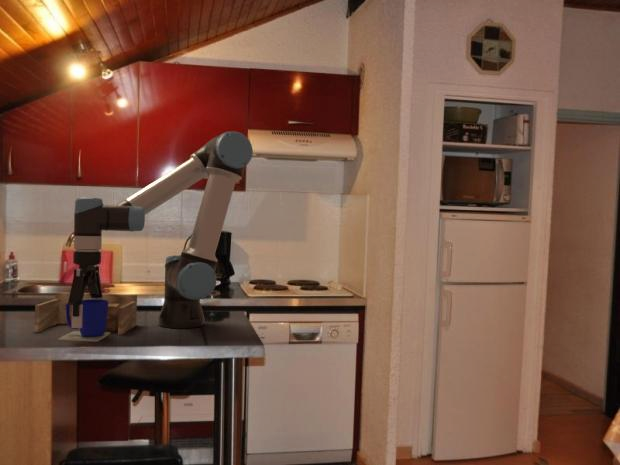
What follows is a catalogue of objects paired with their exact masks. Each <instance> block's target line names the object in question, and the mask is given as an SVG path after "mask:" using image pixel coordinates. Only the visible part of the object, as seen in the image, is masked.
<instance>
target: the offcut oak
mask: <svg viewBox="0 0 620 465" xmlns="http://www.w3.org/2000/svg"><path fill="white" fill-rule="evenodd" d="M118 314H119V304H108V311H107V320H116V319H117V318H118Z"/></svg>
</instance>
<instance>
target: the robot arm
mask: <svg viewBox="0 0 620 465" xmlns="http://www.w3.org/2000/svg"><path fill="white" fill-rule="evenodd" d="M252 145H253V144H252V143H251V141H250V139H249V138H248V137H247V136H246V135H245V134H244V133H242V132H239V131H225V132H223V133H221V134H220V135H217V136H215V137H213V138H211V139H210V140H209V141H207V142H206V143H205V144H204V145H203V146H201V147H200V148H198V150H196V151H195V152H193V153H192V154H190V156H189V157H190V158H189V159H188V160H185V162H182V163H181V164H179V165H177V167H175V168H173V169H172V170H170V171H168V172H167V173H165V174H163V175H162V176H160V177H159V178H157V179H155V180H154V181H152V182H151V183H150V184H148V185H146V186H144V187H143V188H141V189H139V190H138V191H136V192H134V194H132V195H130V196H128V197H126V198H125V199H124V200H122V201H121V202H119V203H117V204H116V205H108V204H104V201H103V199H102V198H101V197H88V196H87V197H80V196H79V197H77V198H76V199H75V201H74V202H75V204H74V215H73V217H74V218H73V227H74V228H73V235H74V236H73V238H72V242H73V249H74V250H75V251H73V256H72V260H73V261H72V263H73V264H74V265H78V266H79V267H78V268H74V270H73V278H72V283H71V288H70V292H69V293H70V296H69V301H68V304H69V305H72V323H71V328H70V329H72V328H79V329H80V328H82V314H83V305H81V303H82V299H83V296H84V293H86V290H87V288H88V292H89V293H90V296H91V298H89V299H99V298H102V296H103V295H102V294H103V290H102V284H101V277H100V266H99V265H100V264H102V252H101V251H100V250H102V243H103V242H102V241H103V240H102V233H103V231H106V232H107V231H113V232H114V231H115V232H131V233H132V232H133V233H134V232H142V231H143V230H144V228H145V222H146V215H147V214H149V213H151V212H152V211H153V210H155V209H157V208H159V207H160V206H161V205H163V204H165V203H166V202H168V201H169V200H171V199H172V198H175V196H177V195H179V194H180V193H182V192H183V191H185V190H187V189H188V188H190V187H191V186H192V185H195V184H196V183H197V182H199V181H201V180H203V179H207V182H206V185H205V188H204V192H203V195H202V197H201V198H202V199H201V203H200V205H199V210H198V211H197V212H198V213H197V216H196V219H195V223H194V226H193V229H192V233H191V236H190V240H189V243H188V247H187V248H185V249H184V250H183V249H182V251H181V254H177V255H169V256H167V257H166V258H165V262H164V263H165V264H164V270H165V271H164V296H163V297H164V300H163V304H162V307H161V310H160V313H159V314H158V315H159V316H158V319H157V320H158V321H157V324H158V326H160V327H162V328H163V327H164V328H169V329H171V328H172V329H190V328H199V327H203V326H205V319H206V318H205V315H204V312H203V311H204V310H203V308H202V305H201V300H203V299H205V298H207V297H208V296H209V295H211V294H212V292H214V290H215V288H216V285H217V273H216V270H217V266H218V261H219V260H218V258H217V256H216V251H217V249H218V245H219V241H220V237H221V233H222V231H223V228H224V224H225V220H226V218H227V214H228V209H229V205H230V203H231V199H232V197H233V196H232V195H233V192H234V188H235V185H236V184H237V182H239V181H240V180H242V179H243V175H244V171H245V167H246V166H247V165H248V164H250V162H251V160H252V158H253V154H254V153H253V152H254V151H253V146H252Z"/></svg>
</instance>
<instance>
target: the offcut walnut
mask: <svg viewBox="0 0 620 465" xmlns="http://www.w3.org/2000/svg"><path fill="white" fill-rule="evenodd" d="M105 332H110V333H116V332H117V333H118V318H117V319H116V320H106V329H105Z"/></svg>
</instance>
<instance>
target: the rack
mask: <svg viewBox="0 0 620 465" xmlns="http://www.w3.org/2000/svg"><path fill="white" fill-rule="evenodd" d="M54 295H55V296H54V299H50V300H48V301H45V302H41V303H39V304H35V305H34V332H35V333H41V331H44V329H45V330H47V329H49V328H52V327H54V326H56V324H57V325H59V324H60V325H68V322H67V315H66V304H67V303H68V301H69V296H70V292H57V291H56V292H55V293H54ZM102 295H103V296H102V298H99V299H101V300H107V301H108V304H119V314H118V331H117V335H124V334H125V333H127V332H129V330H131V329H133V328H134V327H136V326H137V314H138V313H137V311H138V310H137V309H138V294H122V293H121V294H120V293H119V294H118V293H117V294H116V293H102ZM89 298H91V296H90V293H88V292H85V293H84V296H83V299H82V300H89ZM69 312H70V320H71V323H72V305H69ZM53 325H54V326H53ZM51 326H52V327H51ZM48 327H49V328H48ZM46 328H47V329H46ZM126 331H127V332H126Z"/></svg>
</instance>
